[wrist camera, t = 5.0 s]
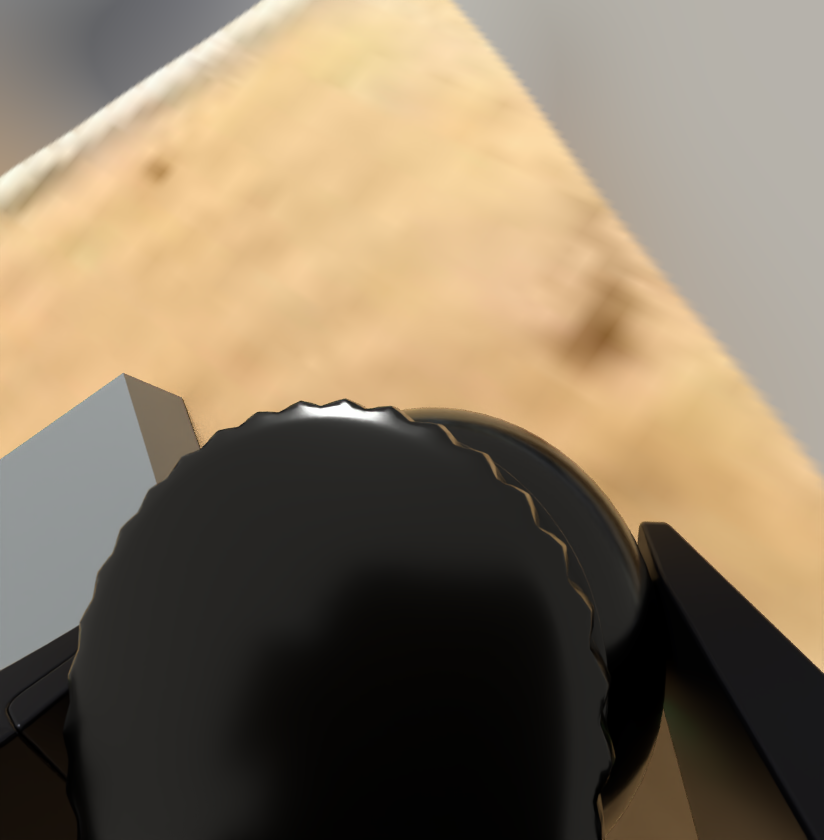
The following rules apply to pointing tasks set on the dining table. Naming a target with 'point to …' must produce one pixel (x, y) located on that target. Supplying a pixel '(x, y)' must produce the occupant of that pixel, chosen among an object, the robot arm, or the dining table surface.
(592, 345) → the dining table surface
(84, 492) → the gray hardcover book
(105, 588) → the supplement bottle
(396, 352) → the dining table surface
